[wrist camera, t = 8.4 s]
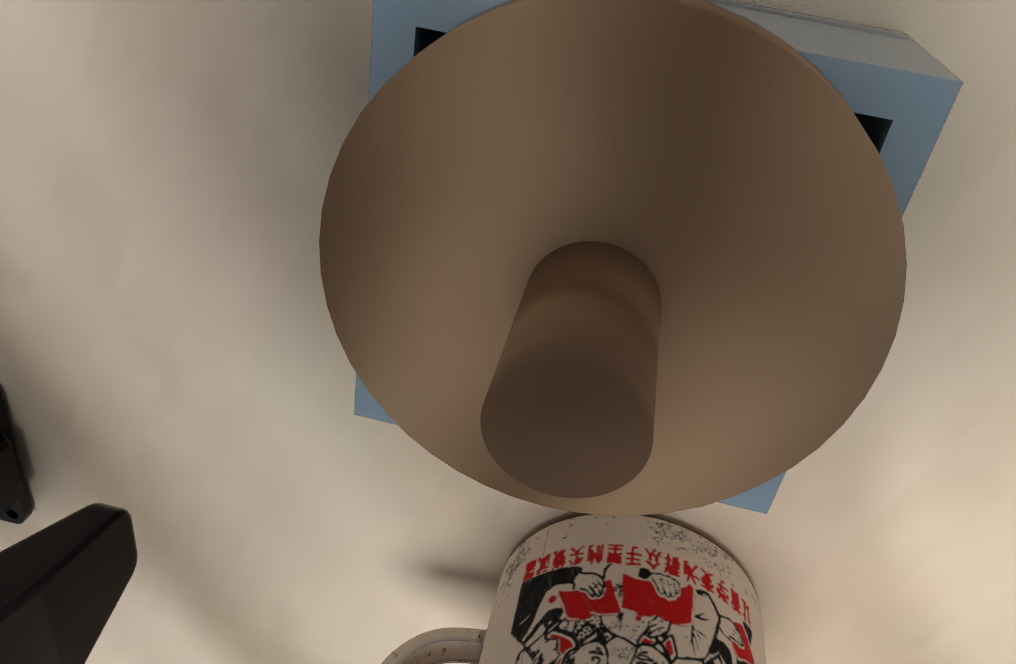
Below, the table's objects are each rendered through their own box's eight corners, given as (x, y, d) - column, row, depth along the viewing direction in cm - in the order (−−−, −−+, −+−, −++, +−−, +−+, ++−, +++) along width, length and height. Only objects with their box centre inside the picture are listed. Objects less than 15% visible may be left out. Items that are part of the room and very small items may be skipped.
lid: (332, 423, 19) (234, 582, 15) (346, -70, 13) (192, -33, 9) (779, 532, 18) (805, 734, 14) (1007, 55, 12) (1170, 159, 8)
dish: (404, 329, 22) (354, 414, 19) (436, -55, 17) (375, -31, 14) (754, 410, 22) (766, 513, 18) (906, 33, 16) (963, 81, 13)
